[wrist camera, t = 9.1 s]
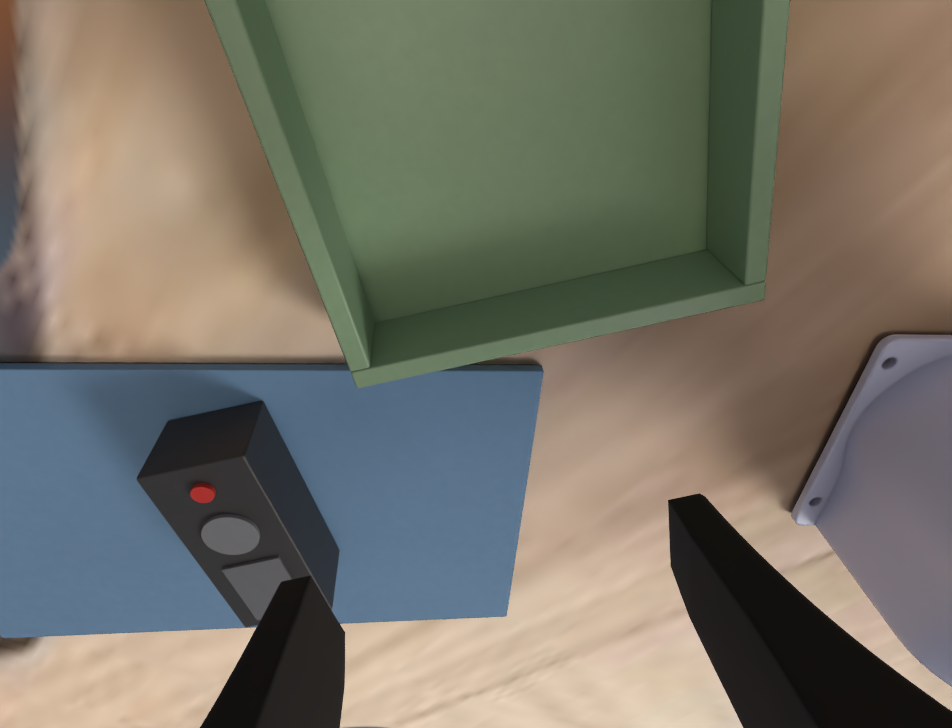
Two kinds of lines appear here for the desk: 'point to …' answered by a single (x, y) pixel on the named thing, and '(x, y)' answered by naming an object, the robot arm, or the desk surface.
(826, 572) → the desk surface
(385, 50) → the caddy
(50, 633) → the mat
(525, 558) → the desk surface
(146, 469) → the remote
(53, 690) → the desk surface
